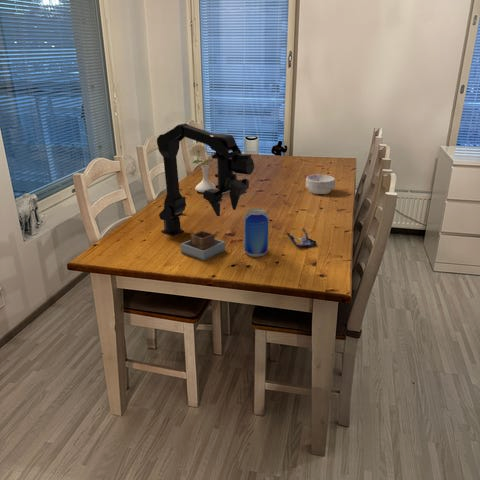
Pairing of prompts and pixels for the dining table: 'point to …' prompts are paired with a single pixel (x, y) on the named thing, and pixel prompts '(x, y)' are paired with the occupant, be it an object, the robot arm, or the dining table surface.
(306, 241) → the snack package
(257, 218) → the beer can
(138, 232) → the dining table surface
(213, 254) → the grey crate
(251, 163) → the robot arm
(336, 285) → the dining table surface
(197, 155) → the flower in vase
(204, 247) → the walnut crate
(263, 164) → the dining table surface
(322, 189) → the paper bowls
